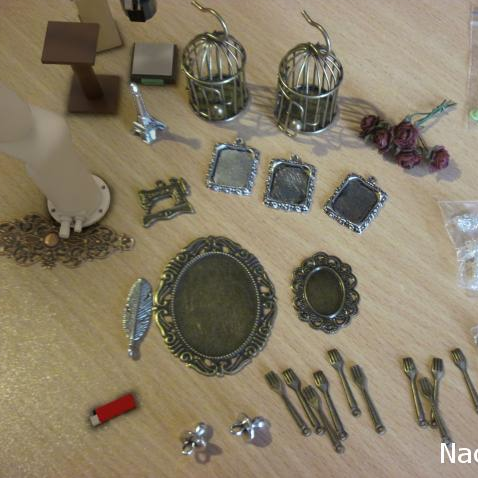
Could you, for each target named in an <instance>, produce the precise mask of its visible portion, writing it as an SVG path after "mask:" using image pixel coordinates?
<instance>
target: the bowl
mask: <svg viewBox="0 0 478 478" xmlns="http://www.w3.org/2000/svg"><path fill="white" fill-rule="evenodd" d="M119 3H120V4H119V5H120V7H121V10H122V11H123V13H124V15H125V17H126V18H129V16H128V13H127V10H125V3H124V0H119ZM132 3H133V4H137V3H136V0H132ZM140 3H141V6H143V9H144V13H145V17H146V21H148V20H151V19H152V18H154V16H155V15H156V13H157V11H158V1H157V0H140Z"/></svg>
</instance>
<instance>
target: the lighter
mask: <svg viewBox="0 0 478 478" xmlns="http://www.w3.org/2000/svg"><path fill="white" fill-rule="evenodd" d="M136 407H137V405H136V402H135V399H134V397H133V394H132V393H131V392H130V393H128V394H125V395H123V396H121V397H119V398H117V399H114V400H112V401H110V402H108V403H106V404H104V405H101V406H99V407H98V408H95V409H93V410H92V415H90V417H89V419H90V422H91V424H92V426H93V427H95V426H98V425H99V424H102V423H105V422H107V421H109V420H111V419H113V418H115V417H118V416H119V415H122V414H124V413H126V412H128V411H130V410H133V409H135V408H136Z"/></svg>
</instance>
